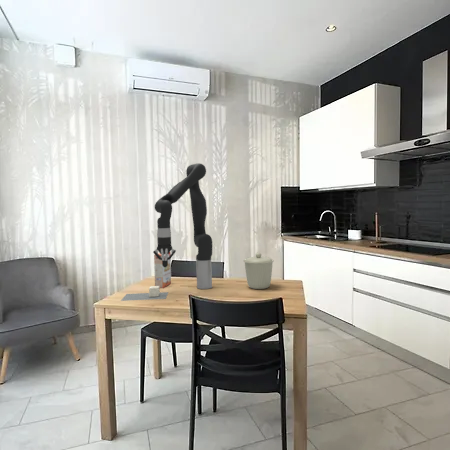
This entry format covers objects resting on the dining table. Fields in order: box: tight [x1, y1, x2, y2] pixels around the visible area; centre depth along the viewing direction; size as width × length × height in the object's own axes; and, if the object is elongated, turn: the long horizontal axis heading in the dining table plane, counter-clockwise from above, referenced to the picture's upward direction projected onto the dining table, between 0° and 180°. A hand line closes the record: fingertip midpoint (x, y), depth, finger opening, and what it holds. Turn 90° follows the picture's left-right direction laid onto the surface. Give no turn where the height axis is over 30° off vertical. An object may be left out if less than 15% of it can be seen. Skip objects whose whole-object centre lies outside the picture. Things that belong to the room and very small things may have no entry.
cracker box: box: [153, 252, 172, 289], centre depth 209 cm, size 14×6×21 cm, turn 168°
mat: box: [120, 291, 169, 302], centre depth 184 cm, size 24×14×1 cm, turn 94°
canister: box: [243, 252, 274, 290], centre depth 199 cm, size 18×18×21 cm
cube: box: [148, 285, 161, 297], centre depth 184 cm, size 5×5×5 cm
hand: (165, 267), depth 184 cm, fingers closed
